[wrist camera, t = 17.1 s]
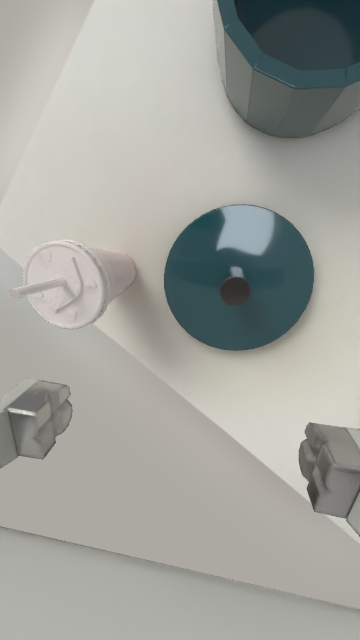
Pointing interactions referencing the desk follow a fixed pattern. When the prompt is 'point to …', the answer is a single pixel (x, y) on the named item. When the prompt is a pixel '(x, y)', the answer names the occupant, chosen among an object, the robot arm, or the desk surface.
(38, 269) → the smoothie
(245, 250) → the lid
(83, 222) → the desk surface
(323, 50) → the pot
